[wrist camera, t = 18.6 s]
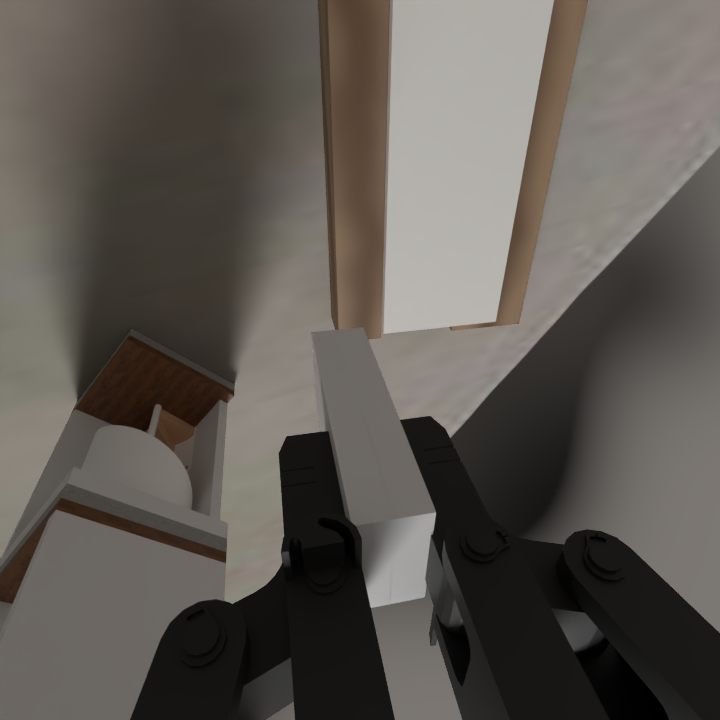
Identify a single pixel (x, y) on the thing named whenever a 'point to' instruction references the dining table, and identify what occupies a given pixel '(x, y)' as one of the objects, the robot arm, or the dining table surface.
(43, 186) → the dining table surface
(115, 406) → the wood-lined white cubby
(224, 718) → the robot arm
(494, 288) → the duct cover
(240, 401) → the dining table surface
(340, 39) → the wooden tray
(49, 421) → the dining table surface
